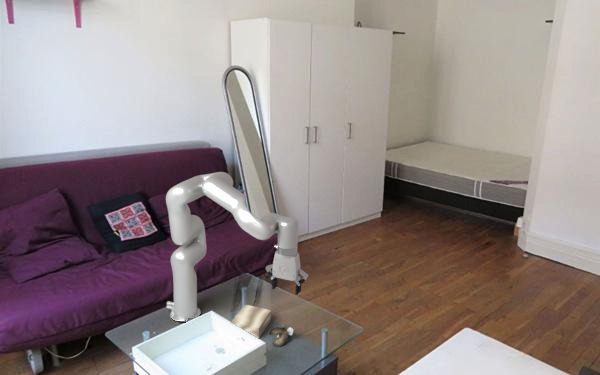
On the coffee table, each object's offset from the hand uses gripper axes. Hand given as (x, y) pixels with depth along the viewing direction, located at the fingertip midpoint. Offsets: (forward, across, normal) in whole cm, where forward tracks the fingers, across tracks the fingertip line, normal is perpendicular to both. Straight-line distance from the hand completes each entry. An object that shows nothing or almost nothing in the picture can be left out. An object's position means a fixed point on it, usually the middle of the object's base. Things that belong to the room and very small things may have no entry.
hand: (286, 290), depth 180 cm
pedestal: (+22, -16, +3) cm, 27 cm away
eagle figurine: (+22, -1, -1) cm, 23 cm away
